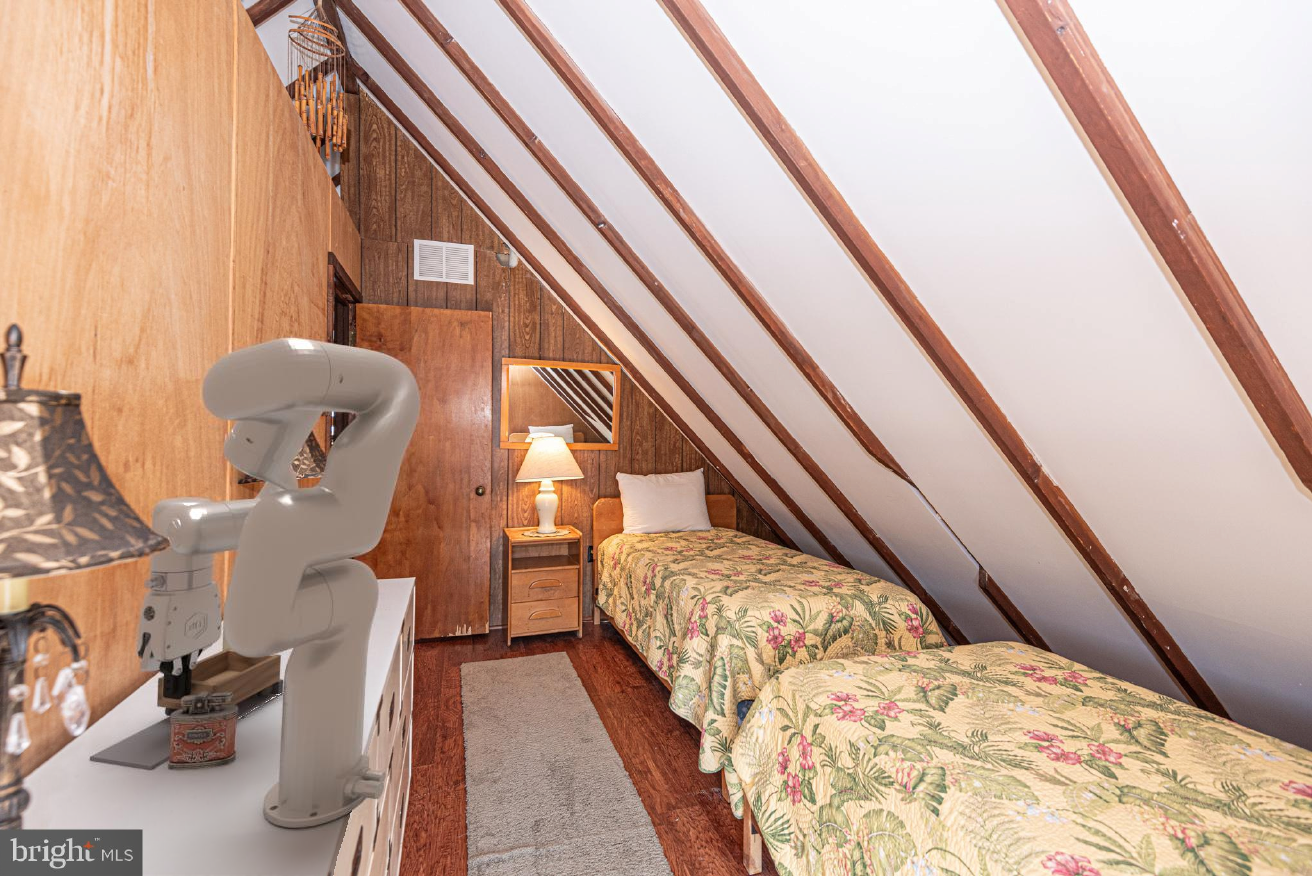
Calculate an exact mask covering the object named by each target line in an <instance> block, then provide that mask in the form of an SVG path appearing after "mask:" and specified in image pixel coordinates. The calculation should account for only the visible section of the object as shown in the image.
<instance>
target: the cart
mask: <svg viewBox="0 0 1312 876" xmlns="http://www.w3.org/2000/svg"><path fill="white" fill-rule="evenodd" d="M281 657H282V655H281V654H277V653H276V654H273V655H269V656H265V657H259V658H251V657H245V656H242V655H240V654H238V653H236V652H235V651H234V650H233V649H226V650H224V651H219V652H217V653H215V654H212V655H210V656H208V657H205V658H203V659H200V660H199V661H198V660H197V664H196V666H195V668H193V669H191V670H192V678H191V694H190V695H199V694H200V693H201V692H203V691H208V692H210V694H214V693H224V692H232V693H233V701H232V702H231V703H228V704H222V705H235V704H237V703H239V702H241V701H242V700H244V699H246V698H248V697H250V696H251V695H253V694H255V693H257V696H260V697H267V696H268V695H269V694H270V693H271V691H272V688H273V683H275V682H277V681H279V680H280V679H281V665H282V664H281V659H282V658H281ZM157 680H158V681H157V698H156V699H157V701H156V702H157V704H156V707H158V708H165V709H164V714H165V715H166V716H167V717H170V715H171V713H173V712H174V711H177V710H179V709H182V706H181V699H180V700H177V699H170V698H164V697H163V681H164V675H163V676H161V677H159V678H158V679H157ZM190 695H188V696H190ZM214 705H216V704H214ZM191 707H192V706H190V708H191Z"/></svg>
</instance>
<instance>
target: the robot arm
mask: <svg viewBox="0 0 1312 876" xmlns="http://www.w3.org/2000/svg"><path fill="white" fill-rule="evenodd" d="M416 380H417V379H416V378H415V376H414V374H413V373H412V371H411V370H410V369H409V368H408V366H406V365H405V363H403V362H402V361H400V360H399V359H397V358H395V357H393V356H391V355H388V354H386V353H383V352H380V351H376V350H371V349H368V348H367V349H366V348H363V347H362V348H361V347H356V346H350V345H342V344H337V343H331V342H326V341H320V340H313V339H310V338H309V339H307V338H300V337H282V338H276V339H274V340H273V339H271V340H270V341H269V340H268V341H266V342H262V343H258V344H255V345H252V346H249V347H245V348H240V349H237V350H234V351H232V352H229V353H227V354H226V355H224V356H221V358H219V359H218V360H216V361H215V363H213V365H212V366H211V367H210V368H209V370H208V371H207V373H206V375H205V377H204V379H203V383H202V388H201V394H202V401H203V404H204V406H205V409H207V410H208V411H209V413H210V414H211V415H213V416H214V417H215V418H218V419H221V420H224V421H236V422H235V423H234V424H233V427H232V428H231V430H230V432H229V434H228V436H227V437H226V438H225V440H224V442H223V445H222V451H223V455H224V457H225V459H226V460H227V462H228V463H229V464H230V465H231V466H232V467H234V468H236V469H237V470H238V471H240V472H241V473H244V474H246V475H248V476H250V477H253V478H255V479H257V480H261V481H264V482H265V483H264V485H263V487H262V488H261V490H260V491H259V493H258V494H257V495H256V497H254V498H249V499H247V498H246V499H236V500H224V501H216V502H214V501H212V500H211V499H209V498H204V497H195V496H194V497H193V496H191V497H189V496H188V497H183V496H182V497H174V498H166V499H163V500H159V501H157V502H156V504H155V505H154V506H153V508H152V516H151V517H152V518H151V519H152V520H151V531H152V530H154V531H155V532H157V533H159V534H161V535H163V536H164V537H166V538H168V539H169V541H170V548H168V549H167V550H164V551H161V552H160V553H157V554H155V555H152V556H151V555H150V557H149V558H150V564H149V578H148V579H145V581H144V584H143V585H144V587H145V588H146V589H147V590H148V592H146V593H145V595H144V599H143V603H142V606H141V610H140V616H139V621H138V627H137V635H136V637H137V638H136V653H137V657H138V659H141V661H140V665H139V670H140V671H142V672H154V671H158V672H159V674H163V676H164V681H163V697H164V698H170V699H177V700H180V699H182V698H183V697H184V696H188V695H190V694H191V678H192V670H191V669H193V668H195V666H196V664H197V662H198V659H199V657H200V655H202V653H203V652H204V651H207V649H209V648H210V647H212V646H213V644H215V643H217V642H218V641H219V640H220V638H221V636H222V628H223V625H224V633H225V636H226V639H227V642H228V643H229V645H230V647H231V648H232V649H233V650H234V651H235V652H236V653H238V654H240V655H242V656H245V657H251V658H259V657H265V656H269V655H273V654H276V655H277V654H279V653H282V652H285V651H288V650H291V649H292V651H291V652H290V655H289V657H288V659H287V663H286V667H285V670H284V676H283V694H282V710H281V711H282V714H281V732H280V733H281V736H280V750H279V751H280V756H279V775H278V781H277V782H276V783H275V784H274V785H273V786H272V787H271V788H270V789H269V790H268V791H267V792H266V795H265V797H264V800H263V815H264V817H265V818H266V820H267V821H268V822H270V823H271V824H274V825H275V826H281V827H284V828H291V829H292V828H295V829H296V828H308V827H313V826H314V827H315V826H318V825H323V824H326V823H329V822H331V821H334V820H337V819H339V818H341V817H343V816H345V815H347V814H349V813H351V812H352V811H353V810H355V809H356V808H357V807H359V806H361V804H363V803H364V801H365V800H366V799H373V800H379V798H381V796H382V795H383V792H384V788H385V783H384V781H385V779H386V777H387V774H386V773H387V772H385V771H380V770H375V771H374V770H371V768H370V755H365V754H363V742H364V741H363V740H364V724H365V723H364V721H365V702H366V699H365V698H366V682H367V680H366V679H367V668H368V667H367V666H368V652H369V645H370V644H369V641H370V638H371V637H370V635H371V631H372V626H373V622H374V619H375V614H376V613H377V607H378V603H379V595H380V593H379V582H378V579H377V577H376V574H375V572H374V571H373V569H372V568H371V567H370V566H369V565H367V564H366V563H365V562H363V561H360V560H357V559H352V558H354V557H358V556H361V555H364V554H366V553H368V552H370V551H372V550H373V549H375V547H376V546H377V545H378V544H379V542H380V540H381V538H382V536H383V533H384V530H385V527H386V523H387V520H388V516H389V513H390V508H391V505H392V501H393V497H394V494H395V490H396V485H397V482H398V478H399V474H400V469H401V466H402V463H403V459H404V456H405V454H406V451H407V449H408V447H409V444H410V442H411V440H412V437H413V434H414V431H415V430H416V426H417V423H418V419H419V416H420V411H421V395H420V394H421V393H420V390H419V385H418V383H417V381H416ZM324 412H333V413H334V412H335V413H354V414H355V419H354V420H352V422H351V423H350V424H348V425H347V426H346V427H345V428H344V429H343V431H342V432H340V434H339V435H338V436H337V438H335V441H334V442H333V443H332V446H331V447H330V449H329V452H328V455H327V458H326V463H325V467H324V471H323V474H322V476H321V478H320V481H319V482H318V483H317V484H316V485H315V486H312V487H302V488H299V483H298V478H297V476H296V475H297V474H296V472H295V470H294V469H293V467H292V464H293V462H294V460H295V459H296V458H297V456H298V454H299V453H300V450H301V449H302V447H303V446H304V444H305V443H306V440H308V438H309V436H310V434H311V433H312V431H313V429H314V427H315V426H316V424H317V422H318V421H319V419H320V418H321V416H322V414H323V413H324ZM235 550H236V553H235V556H234V557H235V558H234V563H233V566H232V567H233V568H232V572H231V574H230V579H229V584H228V588H227V592H226V597H225V600H224V602H225V607H224V606H223V618H222V603H221V593H220V590H219V586H218V583H217V581H215V580H214V579H213V578H214V558H215V557H214V556H215V554H219V553H224V552H230V551H235ZM222 619H223V620H222ZM222 621H223V623H222ZM222 624H223V625H222Z"/></svg>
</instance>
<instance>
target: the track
mask: <svg viewBox="0 0 1312 876" xmlns="http://www.w3.org/2000/svg"><path fill="white" fill-rule="evenodd" d="M283 688H284V679H281V678H280V680H279V681H277V682H275V683H273V688H272V691H271V693H270V694H269V695H268V696H267V697H260V696H257V693H255V694H253V695H251V696H250V697H248V698H246V699H244V700H242V701H241V702H239V703H237V704H235V706H238V713H237V715H236V719H238V718H239V717H241V716H243V715H245V714H246V713H248V712H250V711H251V710H253V709H254V708H256V707H258V706H260V705H262V704H263V703H265V702H266V701H268V700H270V699H271V698H272V697H275V696H276V694H280V693H282V692H283ZM276 697H277V696H276ZM265 704H266V703H265ZM262 706H263V705H262ZM260 707H261V706H260ZM258 708H259V707H258ZM253 711H254V710H253ZM250 713H251V712H250ZM248 714H249V713H248ZM246 715H247V714H246ZM246 715H245V716H246ZM243 717H244V716H243ZM241 718H242V717H241ZM239 719H240V718H239ZM239 719H238V720H239ZM171 725H172V722H170V716H167V717H165V718H163V719H162V720H159V721H157V722H156V723H154V724H152V725H150V726H148V727H146V728H143V729H142V730H140V731H138V732H136V733H134V734H132V735H130V736H128V737H126V738H124V739H122V740H121V741H118V742H116V743H115V744H112V745H110V746H109V747H106V748H104V749H103V750H100V751H98V752H96V753H94V754H92V755H91V756H89V761H93V762H100V763H106V764H111V763H115V764H114V765H118V764H119V766H125V767H132V768H137V769H138V768H139V769H145V770H149V769H150V770H154V769H155V768H157V767H159V766H160V765H162V764H164V763H166V762H168V761H169V759H170V747H171ZM150 770H149V771H150Z"/></svg>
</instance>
